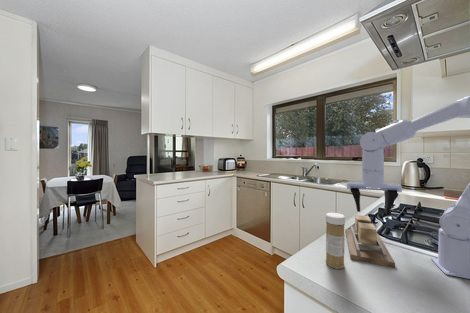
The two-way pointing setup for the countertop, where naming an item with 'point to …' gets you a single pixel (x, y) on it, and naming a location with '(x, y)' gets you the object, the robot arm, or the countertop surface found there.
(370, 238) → the block
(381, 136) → the robot arm
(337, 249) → the sprinkles bottle
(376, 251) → the rail board
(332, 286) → the countertop surface
